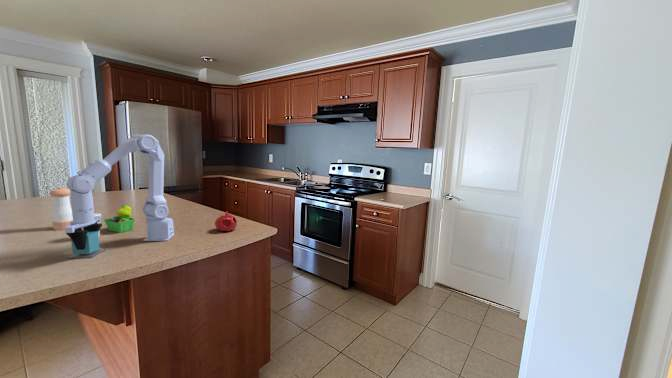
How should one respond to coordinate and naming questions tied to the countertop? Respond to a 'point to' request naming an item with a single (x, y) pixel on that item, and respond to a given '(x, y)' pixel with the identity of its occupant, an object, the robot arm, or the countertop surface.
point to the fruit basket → (121, 220)
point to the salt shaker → (61, 208)
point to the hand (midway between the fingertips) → (86, 246)
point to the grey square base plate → (87, 254)
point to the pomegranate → (226, 222)
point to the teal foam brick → (88, 243)
